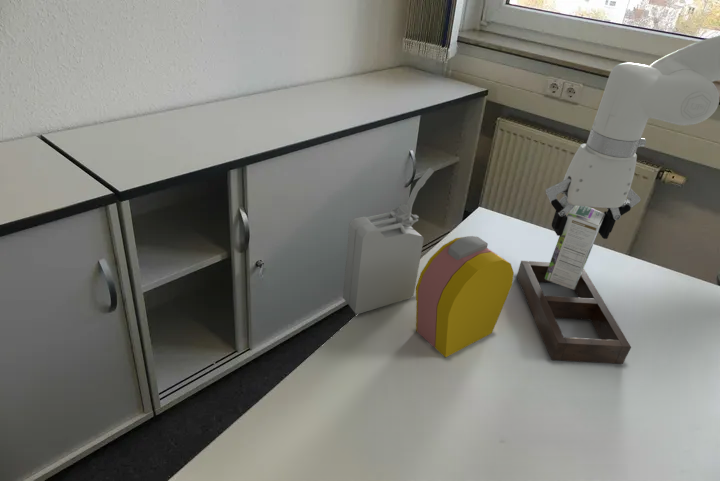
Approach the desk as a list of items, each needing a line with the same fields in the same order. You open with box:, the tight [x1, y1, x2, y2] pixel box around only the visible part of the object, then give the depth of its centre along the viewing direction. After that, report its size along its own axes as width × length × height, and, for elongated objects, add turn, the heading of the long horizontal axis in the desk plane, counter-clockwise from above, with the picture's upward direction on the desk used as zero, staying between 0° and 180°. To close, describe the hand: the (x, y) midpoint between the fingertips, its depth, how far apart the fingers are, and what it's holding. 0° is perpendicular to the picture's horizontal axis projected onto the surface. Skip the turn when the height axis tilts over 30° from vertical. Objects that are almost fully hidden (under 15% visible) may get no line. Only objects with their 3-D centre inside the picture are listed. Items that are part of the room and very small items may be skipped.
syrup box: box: [545, 206, 605, 291], centre depth 100 cm, size 6×6×14 cm
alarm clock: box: [415, 235, 515, 358], centre depth 90 cm, size 15×8×18 cm, turn 126°
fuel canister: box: [342, 167, 435, 315], centre depth 95 cm, size 15×5×25 cm, turn 120°
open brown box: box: [516, 260, 632, 365], centre depth 100 cm, size 12×24×4 cm, turn 1°
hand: (579, 232), depth 98 cm, fingers closed on syrup box, 7 cm apart
